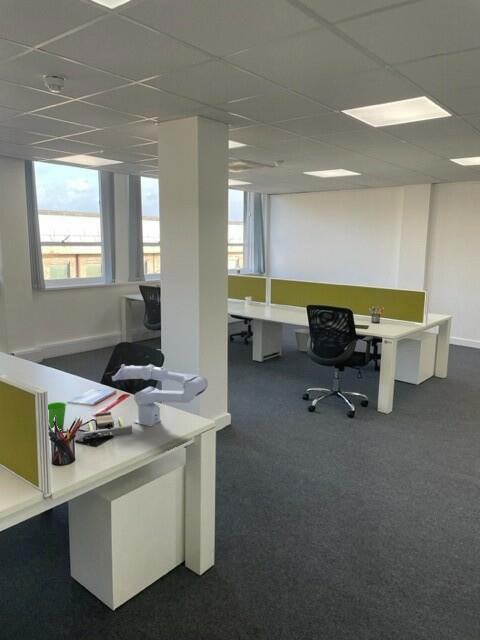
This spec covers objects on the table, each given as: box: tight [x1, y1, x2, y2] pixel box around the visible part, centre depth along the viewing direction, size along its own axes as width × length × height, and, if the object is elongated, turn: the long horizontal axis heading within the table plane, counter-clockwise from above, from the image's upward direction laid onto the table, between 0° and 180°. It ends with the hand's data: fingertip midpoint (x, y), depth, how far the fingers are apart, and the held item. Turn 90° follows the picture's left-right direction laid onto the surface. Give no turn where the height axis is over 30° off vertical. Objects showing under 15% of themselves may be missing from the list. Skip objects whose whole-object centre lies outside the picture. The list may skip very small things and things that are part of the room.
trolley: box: [94, 411, 115, 429], centre depth 216 cm, size 10×7×4 cm
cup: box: [47, 401, 67, 430], centre depth 209 cm, size 9×9×11 cm
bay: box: [83, 417, 133, 438], centre depth 209 cm, size 14×20×3 cm
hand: (109, 373), depth 224 cm, fingers open, 7 cm apart
